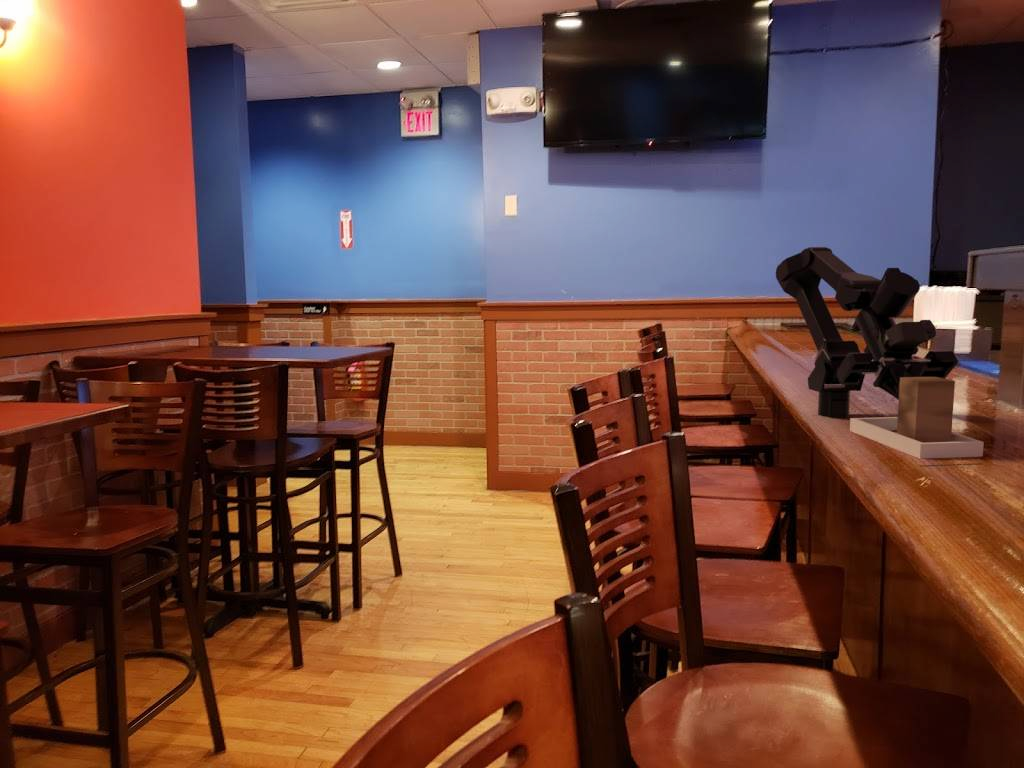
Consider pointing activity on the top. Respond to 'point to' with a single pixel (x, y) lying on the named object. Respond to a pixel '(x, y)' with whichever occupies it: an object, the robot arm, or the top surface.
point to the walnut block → (926, 408)
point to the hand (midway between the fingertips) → (915, 407)
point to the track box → (882, 433)
